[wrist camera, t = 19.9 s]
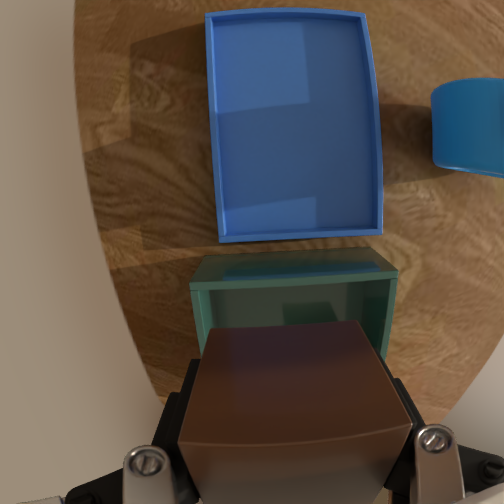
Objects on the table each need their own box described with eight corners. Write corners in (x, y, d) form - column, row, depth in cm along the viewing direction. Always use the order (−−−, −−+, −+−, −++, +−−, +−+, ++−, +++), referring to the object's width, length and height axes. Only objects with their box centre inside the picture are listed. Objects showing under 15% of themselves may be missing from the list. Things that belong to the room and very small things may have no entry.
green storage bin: (204, 255, 25) (188, 282, 20) (370, 246, 25) (398, 270, 19) (222, 385, 29) (215, 427, 24) (357, 375, 29) (372, 415, 23)
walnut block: (209, 327, 10) (175, 442, 5) (356, 318, 10) (414, 424, 5) (225, 425, 11) (213, 524, 6) (342, 417, 11) (368, 513, 6)
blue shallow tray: (208, 21, 20) (204, 13, 18) (359, 20, 19) (364, 13, 17) (221, 237, 25) (219, 243, 23) (375, 230, 24) (382, 234, 23)
